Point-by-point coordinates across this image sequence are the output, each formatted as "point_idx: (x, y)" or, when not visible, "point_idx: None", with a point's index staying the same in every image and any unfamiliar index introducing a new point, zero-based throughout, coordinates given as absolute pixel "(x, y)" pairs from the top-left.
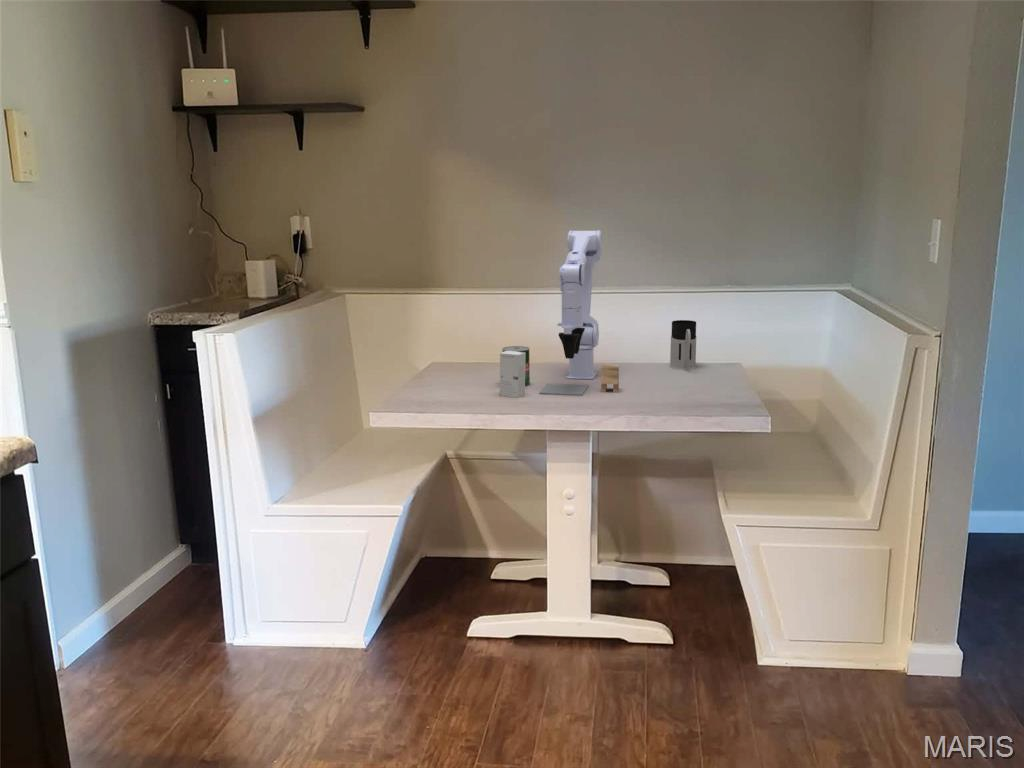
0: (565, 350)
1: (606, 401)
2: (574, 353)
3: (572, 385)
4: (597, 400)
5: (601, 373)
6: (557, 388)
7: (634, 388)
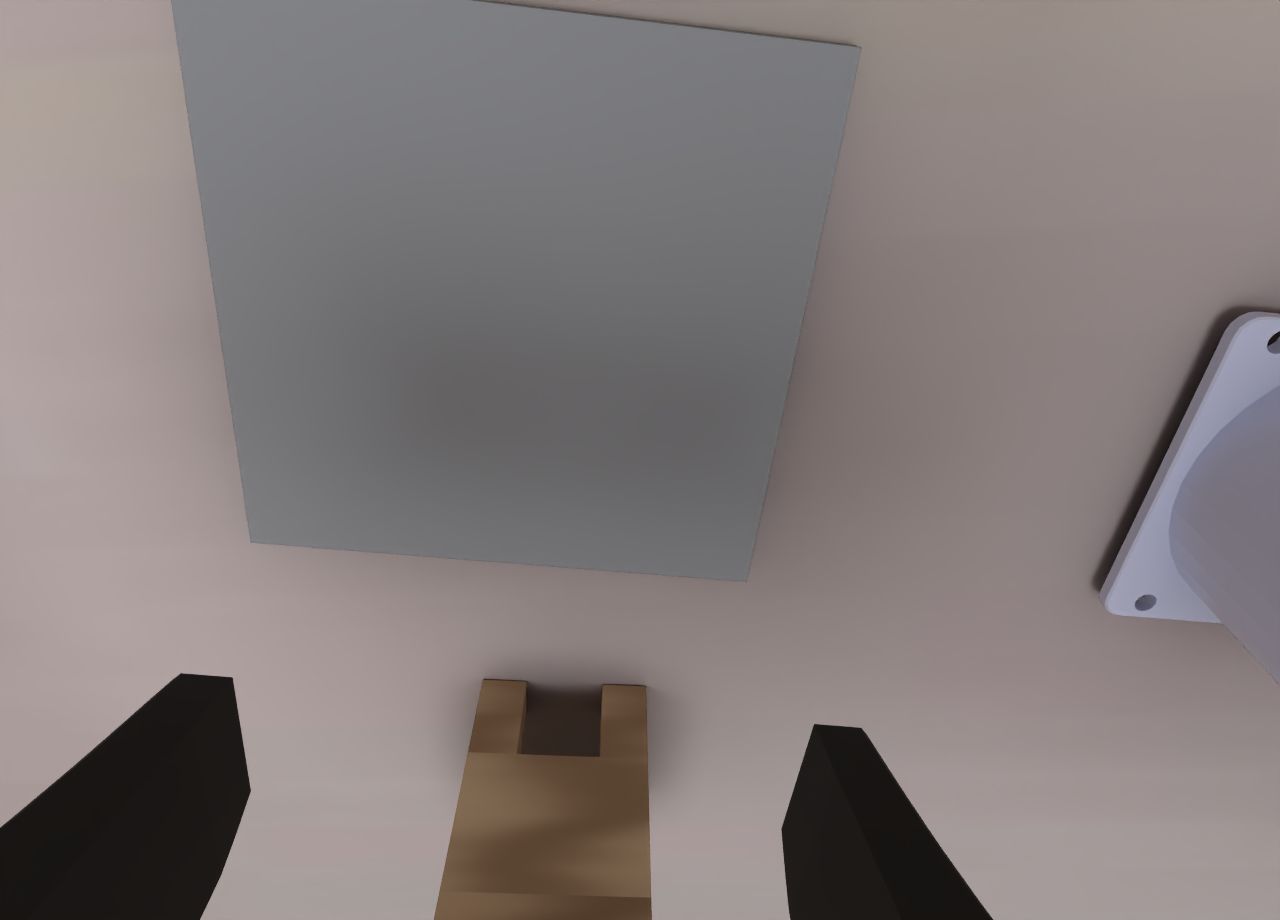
0: (35, 839)
1: (117, 722)
2: (191, 906)
3: (725, 419)
4: (128, 658)
5: (448, 858)
6: (522, 238)
7: (694, 883)
